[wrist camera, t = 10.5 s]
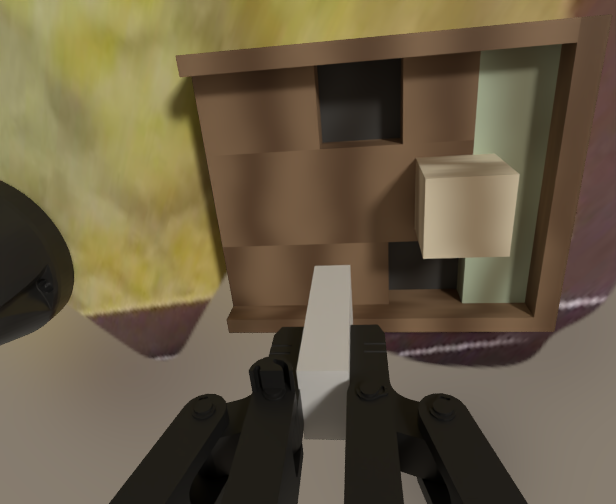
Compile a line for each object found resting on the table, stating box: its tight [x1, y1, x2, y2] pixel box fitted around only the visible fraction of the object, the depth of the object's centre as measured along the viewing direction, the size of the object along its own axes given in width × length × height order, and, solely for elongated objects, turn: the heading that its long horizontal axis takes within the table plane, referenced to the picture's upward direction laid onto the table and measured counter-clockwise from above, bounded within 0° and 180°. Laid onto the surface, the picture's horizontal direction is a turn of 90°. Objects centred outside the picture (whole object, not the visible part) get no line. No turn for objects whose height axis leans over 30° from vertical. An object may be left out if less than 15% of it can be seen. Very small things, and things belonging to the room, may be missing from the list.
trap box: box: [176, 14, 612, 333], centre depth 31 cm, size 24×20×4 cm
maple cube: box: [415, 154, 520, 259], centre depth 28 cm, size 5×5×5 cm
